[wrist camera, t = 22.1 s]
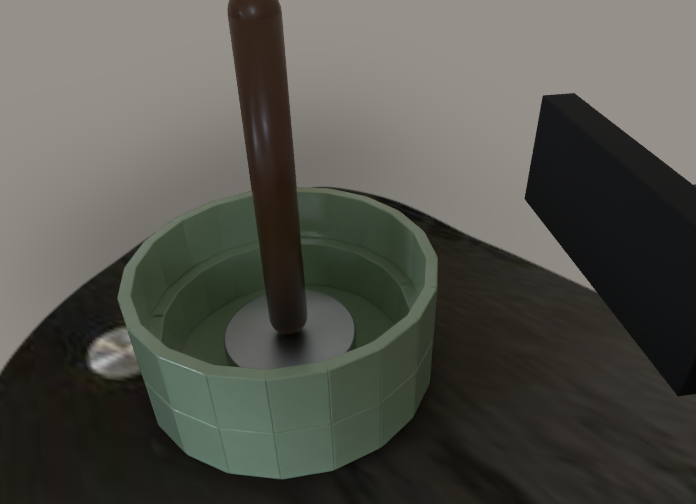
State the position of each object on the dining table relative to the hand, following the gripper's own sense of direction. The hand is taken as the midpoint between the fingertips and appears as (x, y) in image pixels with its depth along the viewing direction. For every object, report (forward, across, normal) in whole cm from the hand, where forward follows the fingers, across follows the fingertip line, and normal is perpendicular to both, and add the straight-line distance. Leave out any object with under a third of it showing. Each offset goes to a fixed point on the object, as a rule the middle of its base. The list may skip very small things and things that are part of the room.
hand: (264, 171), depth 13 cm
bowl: (+11, 0, -18) cm, 21 cm away
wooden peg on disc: (+11, 0, -17) cm, 20 cm away
